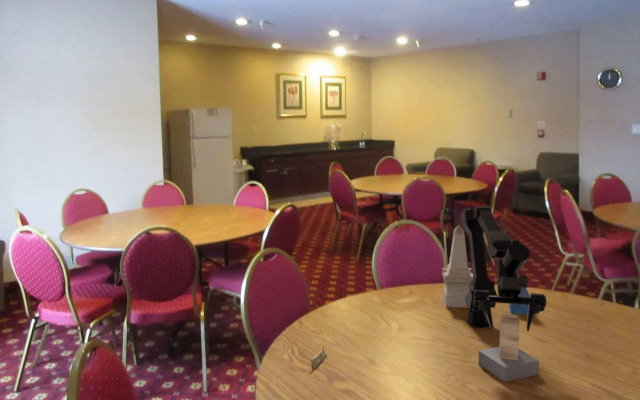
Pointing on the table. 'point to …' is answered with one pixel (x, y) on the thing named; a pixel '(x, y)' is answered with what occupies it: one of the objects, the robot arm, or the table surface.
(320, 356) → the snack bar
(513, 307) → the perfume bottle
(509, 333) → the birch block
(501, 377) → the plinth
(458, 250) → the miniature monument
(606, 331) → the table surface
